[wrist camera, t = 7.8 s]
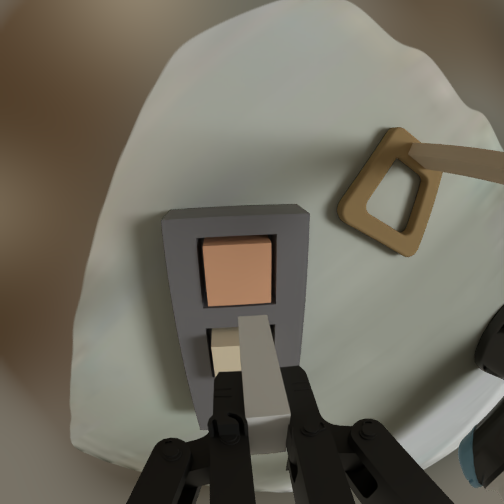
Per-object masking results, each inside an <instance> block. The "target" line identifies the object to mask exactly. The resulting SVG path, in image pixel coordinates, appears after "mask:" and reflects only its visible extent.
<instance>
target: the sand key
mask: <svg viewBox="0 0 504 504" xmlns="http://www.w3.org/2000/svg"><path fill="white" fill-rule="evenodd" d="M211 349H212V357H213V364H214V371H215V377H216V376H217V374H218V373H219V372H228V371H241V361H240V344H239V327H227V328H212V339H211Z"/></svg>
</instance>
